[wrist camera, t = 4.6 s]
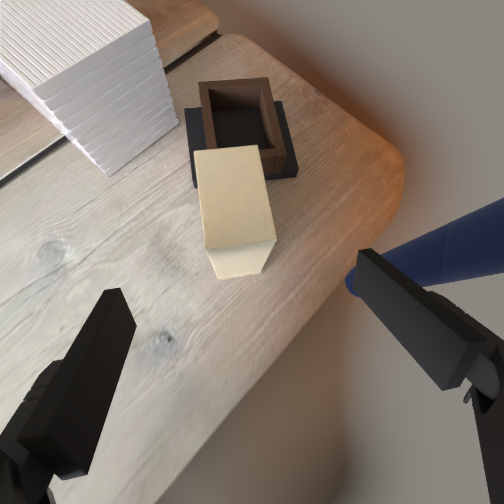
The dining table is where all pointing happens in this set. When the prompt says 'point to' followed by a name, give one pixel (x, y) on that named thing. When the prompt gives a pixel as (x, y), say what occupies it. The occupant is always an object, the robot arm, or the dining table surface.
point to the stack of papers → (89, 74)
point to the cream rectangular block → (234, 210)
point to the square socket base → (242, 124)
